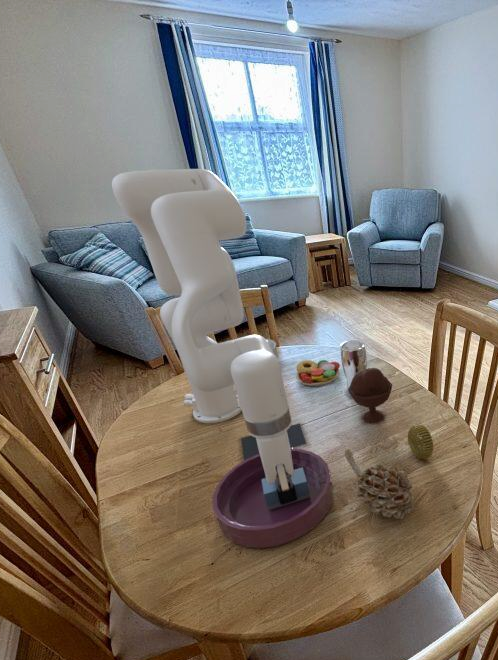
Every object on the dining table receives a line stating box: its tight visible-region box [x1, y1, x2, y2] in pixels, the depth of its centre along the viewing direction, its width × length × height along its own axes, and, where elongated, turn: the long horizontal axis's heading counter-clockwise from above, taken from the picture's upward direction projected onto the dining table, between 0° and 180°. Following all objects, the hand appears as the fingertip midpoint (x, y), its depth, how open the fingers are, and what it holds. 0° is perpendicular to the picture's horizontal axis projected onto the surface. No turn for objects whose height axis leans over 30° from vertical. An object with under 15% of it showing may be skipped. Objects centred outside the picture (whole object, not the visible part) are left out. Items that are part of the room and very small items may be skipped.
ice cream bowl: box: [348, 367, 393, 424], centre depth 104 cm, size 11×11×15 cm
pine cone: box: [344, 447, 415, 519], centre depth 82 cm, size 22×10×10 cm, turn 46°
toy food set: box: [295, 359, 341, 387], centre depth 126 cm, size 13×13×3 cm
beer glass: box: [340, 339, 368, 398], centre depth 115 cm, size 7×7×15 cm
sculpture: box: [407, 424, 434, 460], centre depth 93 cm, size 8×4×8 cm, turn 29°
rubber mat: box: [240, 423, 307, 461], centre depth 99 cm, size 14×9×1 cm, turn 116°
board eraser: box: [262, 468, 310, 510], centre depth 82 cm, size 8×4×4 cm, turn 115°
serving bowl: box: [211, 447, 334, 549], centre depth 81 cm, size 22×22×6 cm
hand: (286, 491), depth 82 cm, fingers closed on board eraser, 4 cm apart
